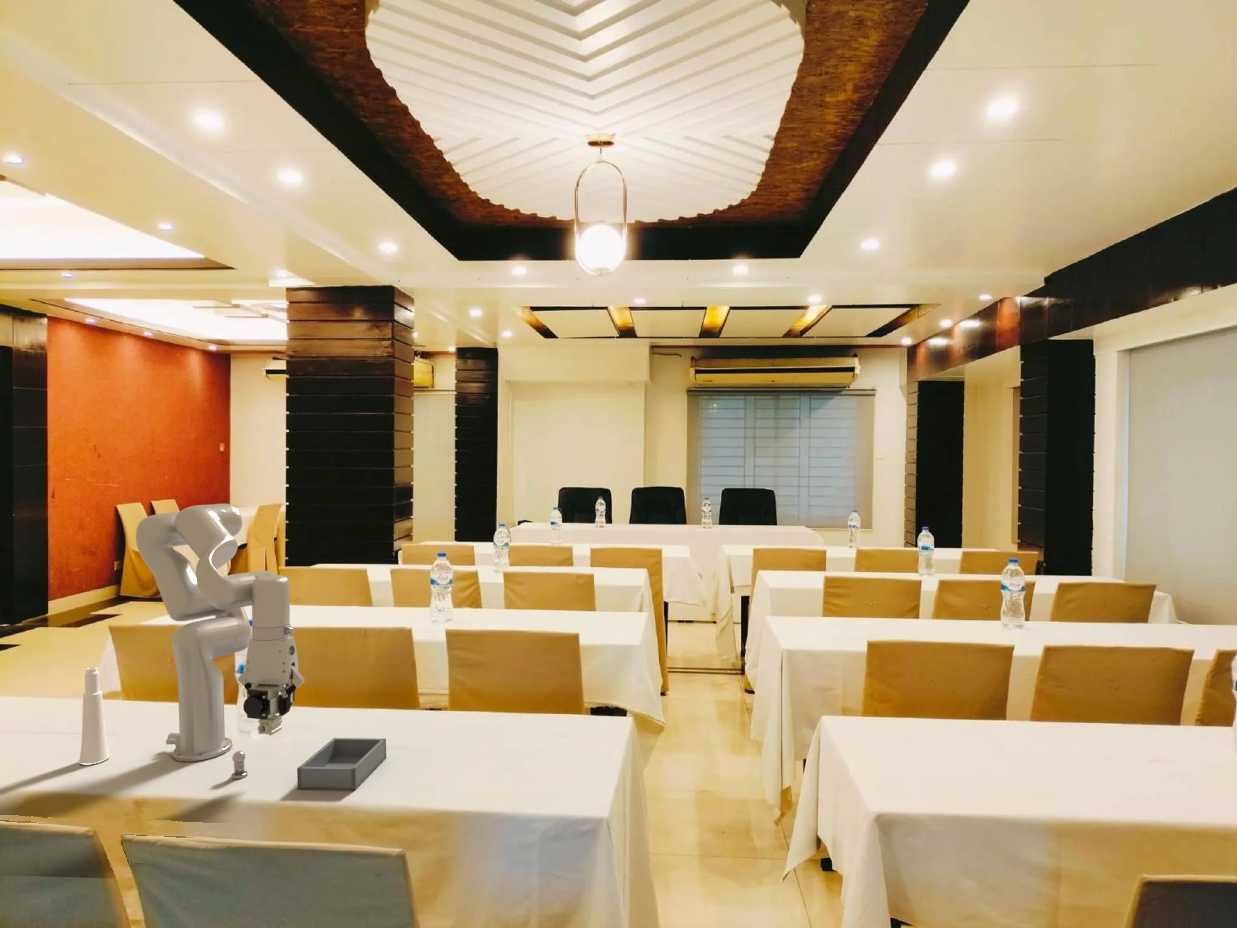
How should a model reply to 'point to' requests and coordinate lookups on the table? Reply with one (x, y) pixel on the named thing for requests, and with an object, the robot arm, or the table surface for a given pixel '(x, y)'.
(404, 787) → the table surface
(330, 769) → the tray
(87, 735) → the cosmetic bottle
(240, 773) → the metal knob
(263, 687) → the pneumatic valve
